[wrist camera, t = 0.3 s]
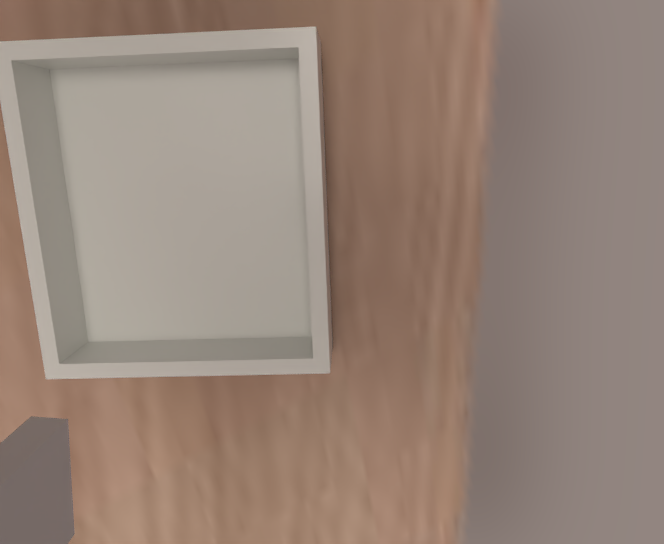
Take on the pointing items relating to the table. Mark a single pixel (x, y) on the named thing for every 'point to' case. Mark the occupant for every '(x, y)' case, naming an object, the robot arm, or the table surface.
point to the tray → (173, 201)
